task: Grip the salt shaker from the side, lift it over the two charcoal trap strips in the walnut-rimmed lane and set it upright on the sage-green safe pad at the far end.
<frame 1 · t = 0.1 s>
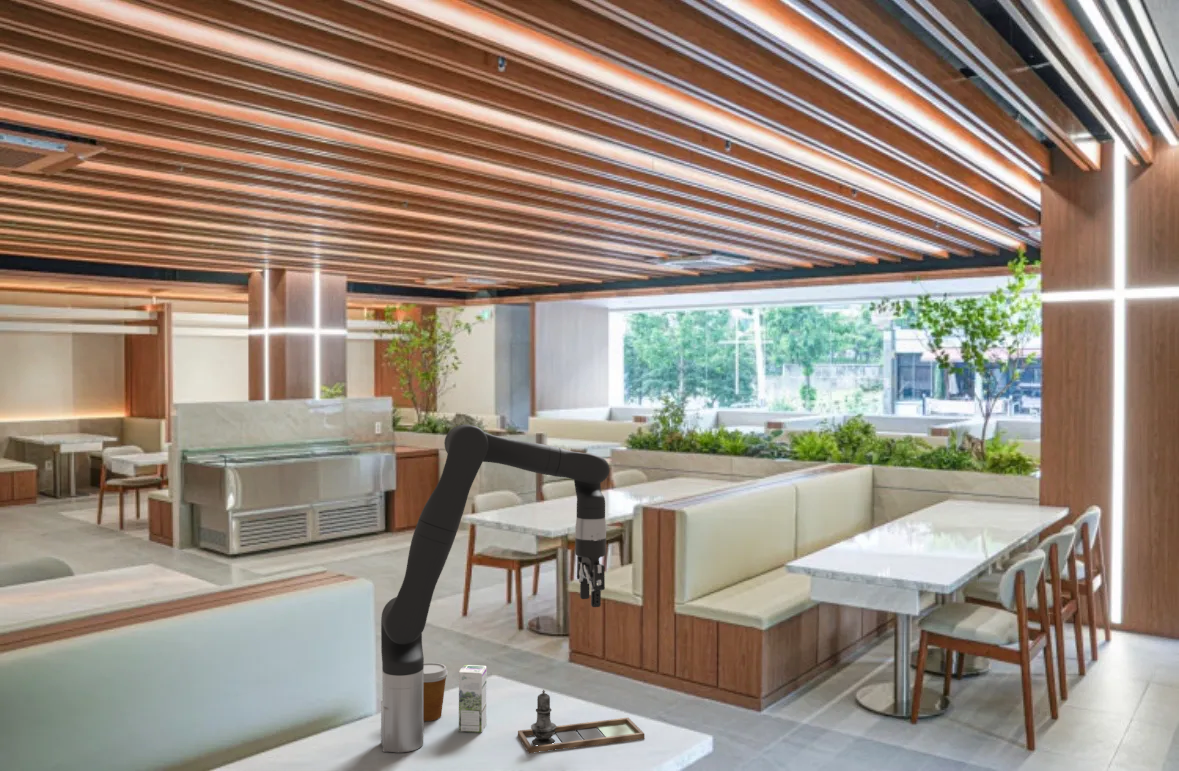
hand: (590, 602, 217), 29 cm above the table, tool pointing down, fingers open, 8 cm apart
salt shaker: (543, 742, 205), resting in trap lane
syrup box: (472, 729, 213), on the table
disposable coffee cup: (428, 717, 221), on the table
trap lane: (580, 737, 208), on the table
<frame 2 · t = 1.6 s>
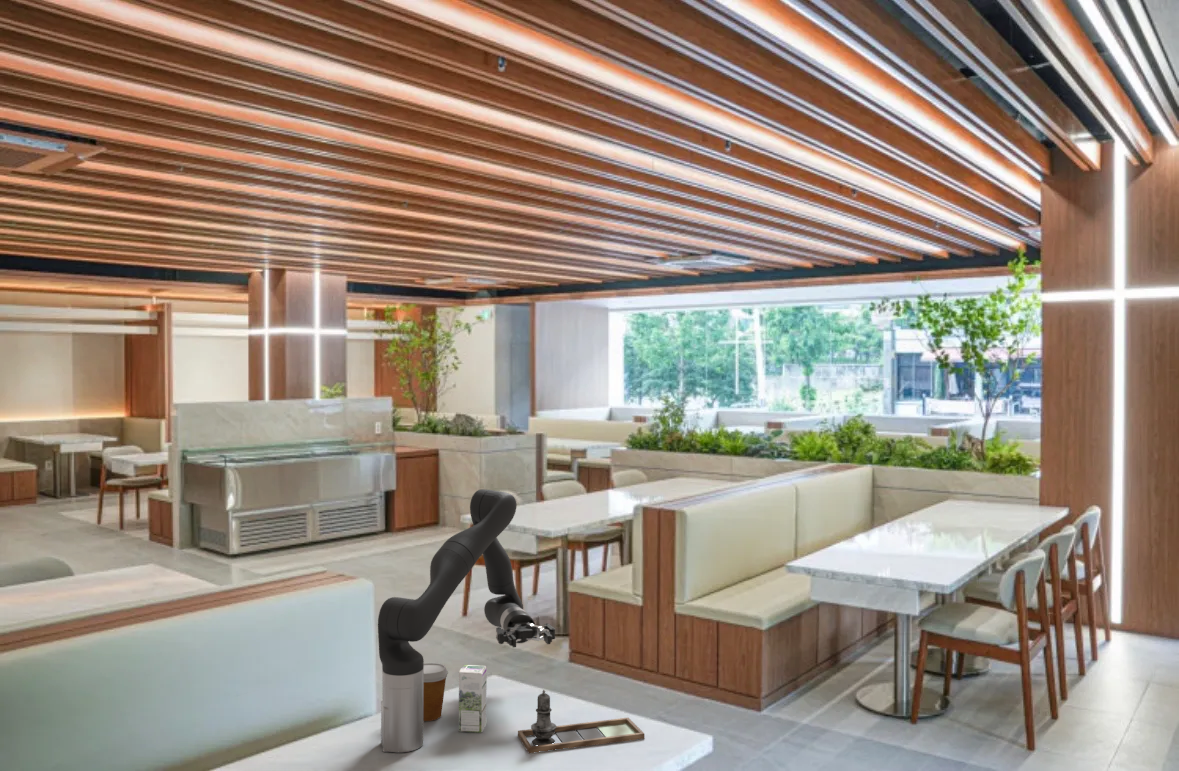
hand: (532, 641, 216), 20 cm above the table, tool horizontal, fingers open, 8 cm apart
nothing on the table moved.
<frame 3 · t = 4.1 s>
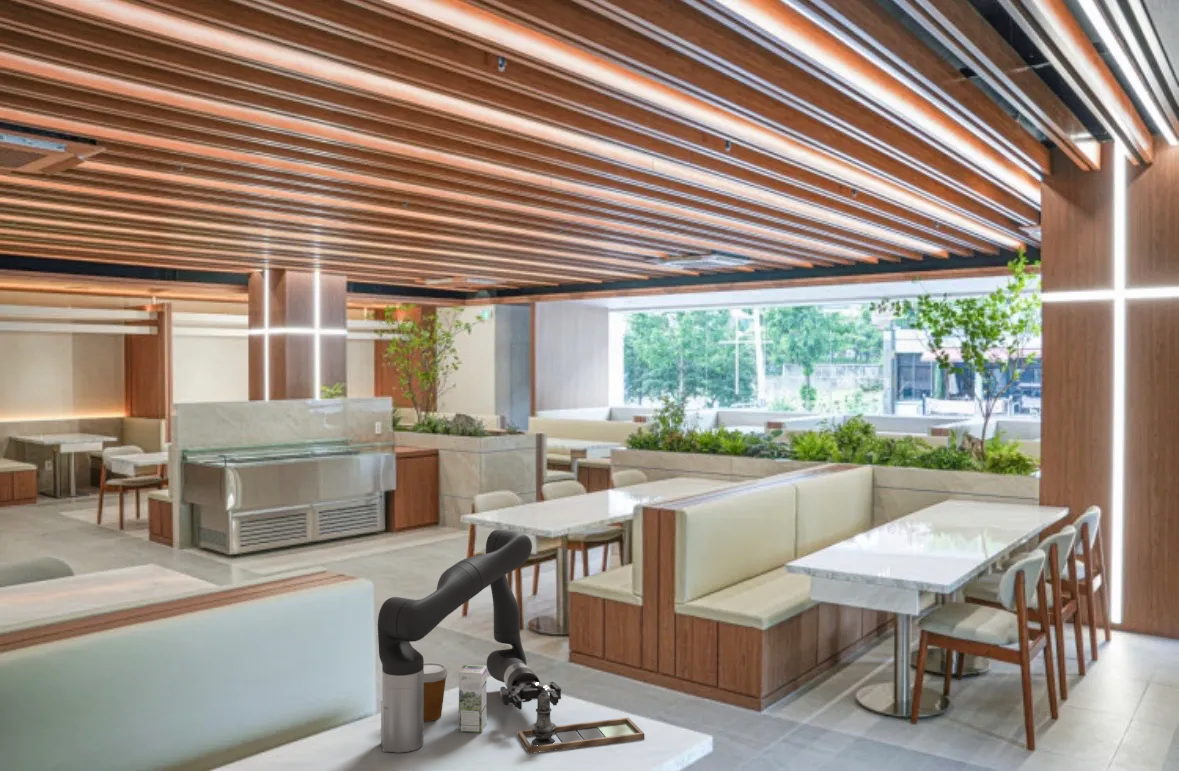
hand: (538, 703, 210), 7 cm above the table, tool horizontal, fingers open, 8 cm apart
nothing on the table moved.
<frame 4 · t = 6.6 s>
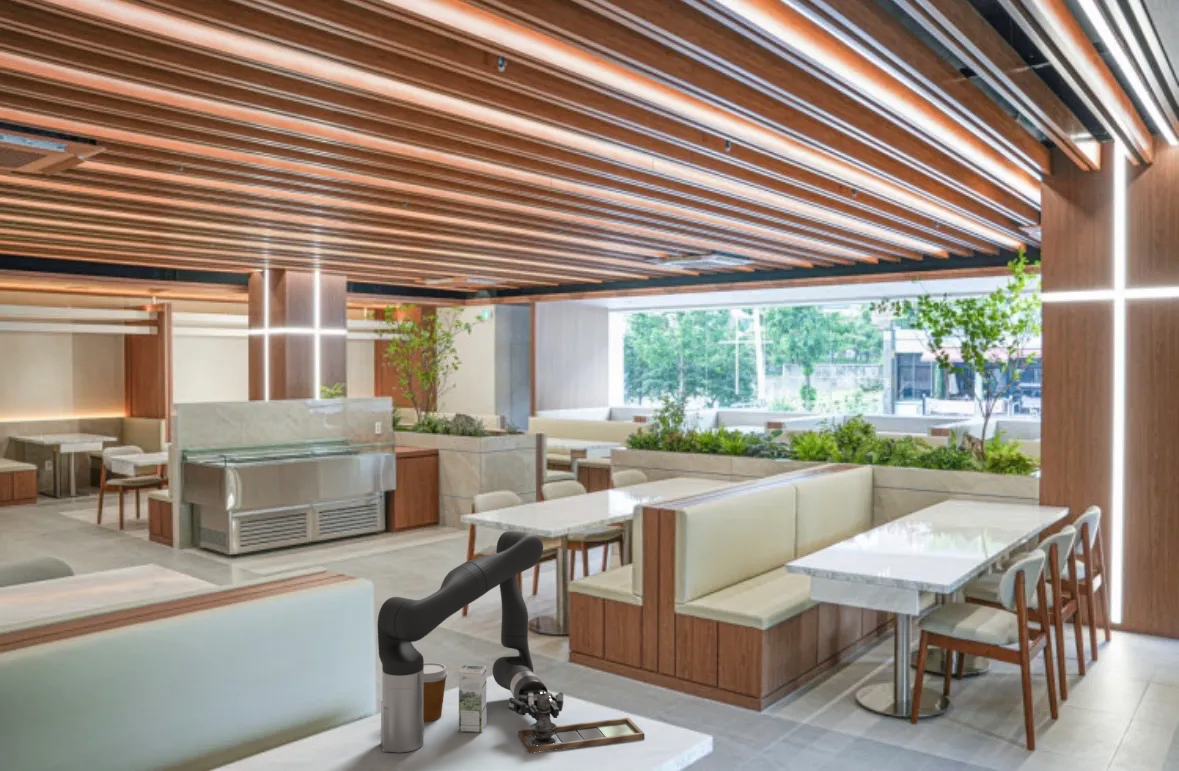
hand: (546, 714, 203), 7 cm above the table, tool horizontal, fingers closed on salt shaker, 3 cm apart
salt shaker: (543, 742, 205), resting in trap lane, touching gripper
everything else where it was.
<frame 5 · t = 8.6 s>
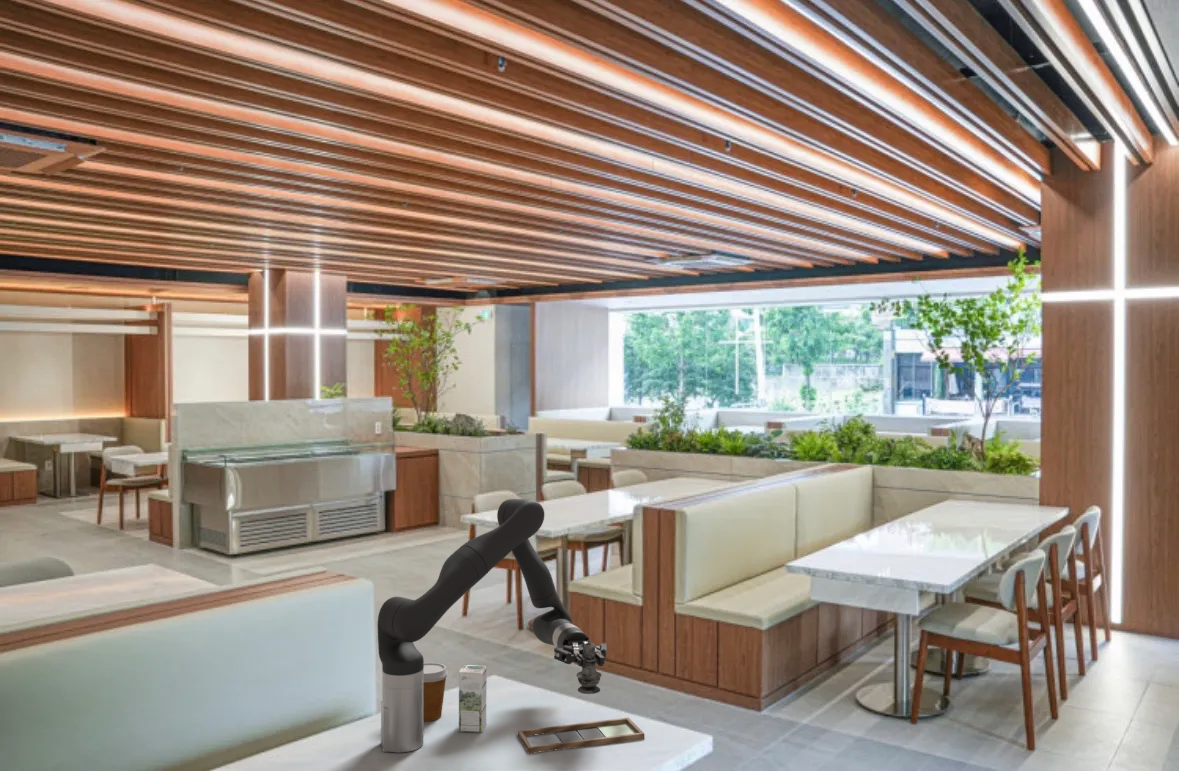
hand: (593, 662, 207), 18 cm above the table, tool horizontal, fingers closed on salt shaker, 3 cm apart
salt shaker: (588, 690, 209), point 10 cm above the table, touching gripper
everything else where it was.
when the fingers open (8 cm above the table, at t = 10.7 s): salt shaker drops 1 cm, resting on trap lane.
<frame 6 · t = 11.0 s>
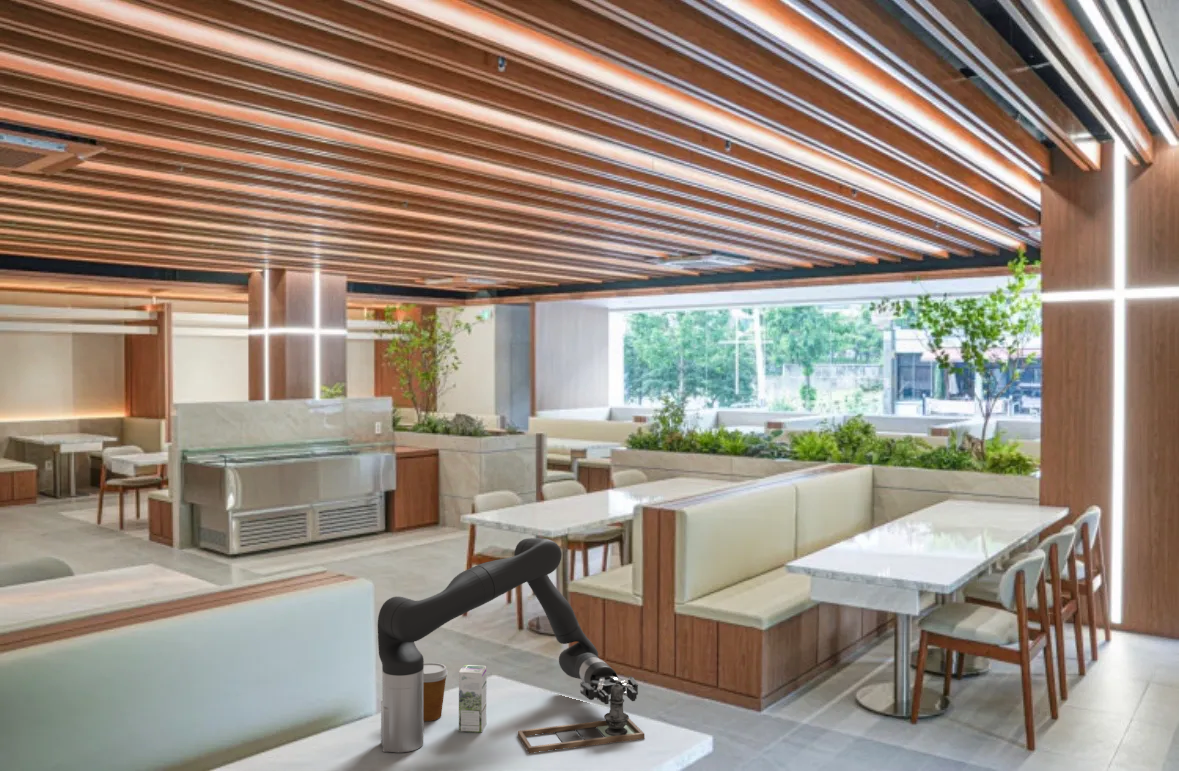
hand: (620, 698, 209), 9 cm above the table, tool horizontal, fingers open, 6 cm apart
salt shaker: (616, 732, 211), resting on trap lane
everything else where it was.
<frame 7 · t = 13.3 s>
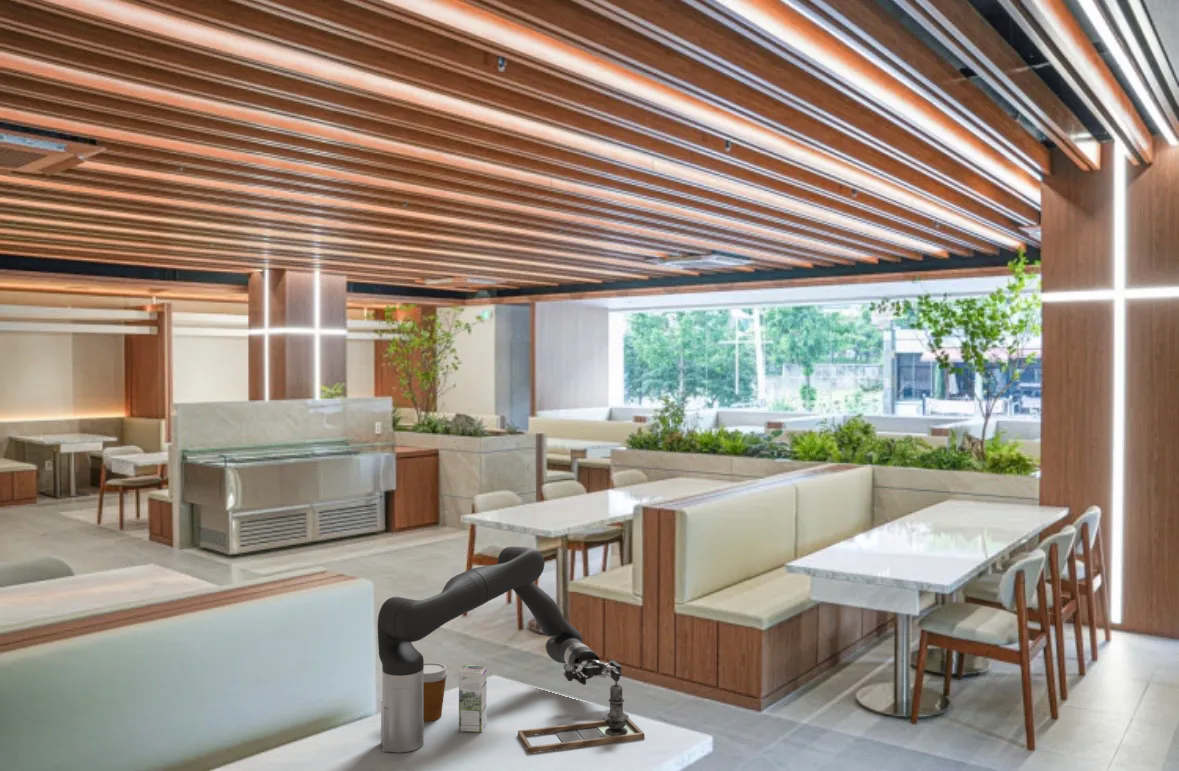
hand: (601, 679, 221), 9 cm above the table, tool horizontal, fingers open, 8 cm apart
nothing on the table moved.
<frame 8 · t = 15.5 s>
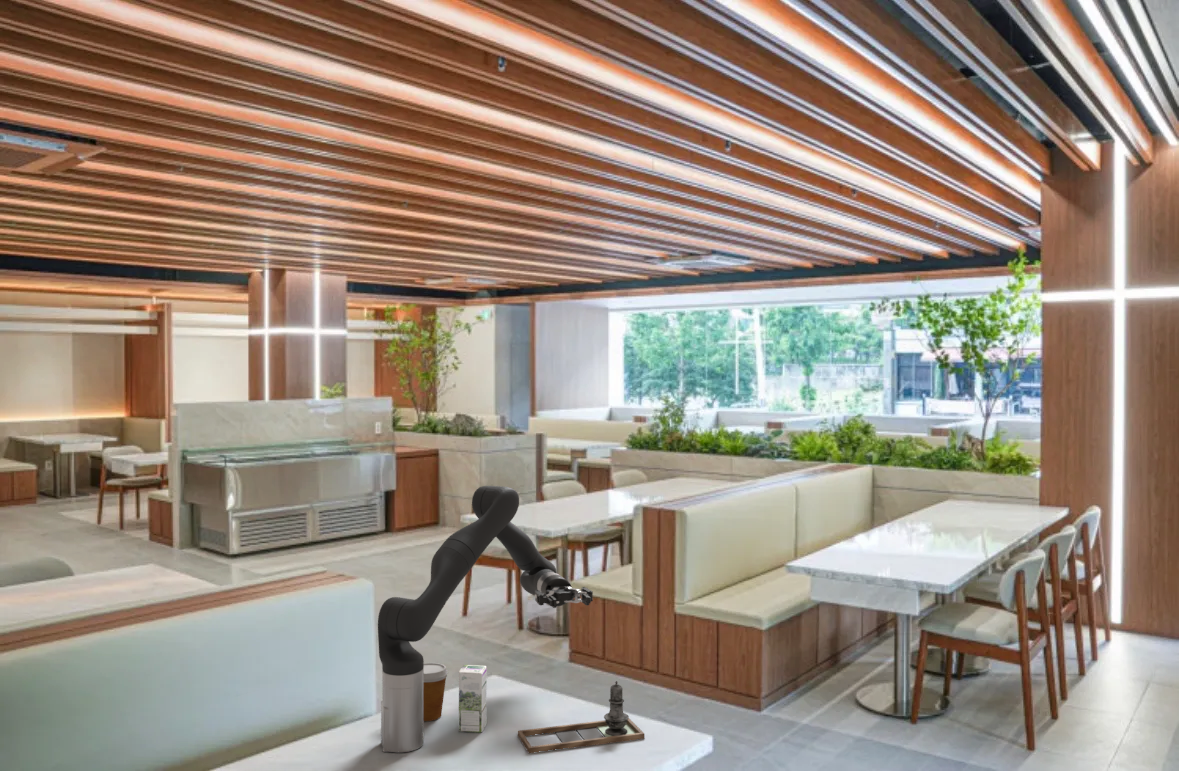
hand: (571, 602, 222), 28 cm above the table, tool horizontal, fingers open, 8 cm apart
nothing on the table moved.
at the end: salt shaker inside the target area (0.5 cm from its centre), resting on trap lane; salt shaker tilted 0°; the gripper is holding nothing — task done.
